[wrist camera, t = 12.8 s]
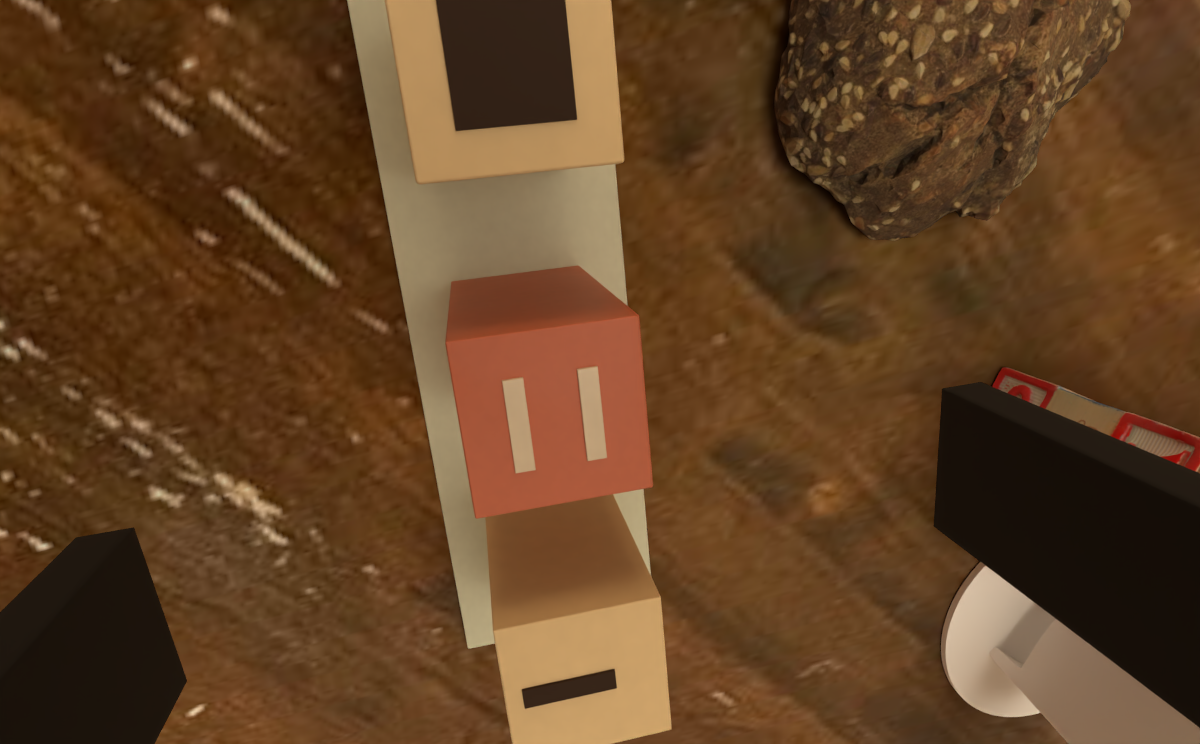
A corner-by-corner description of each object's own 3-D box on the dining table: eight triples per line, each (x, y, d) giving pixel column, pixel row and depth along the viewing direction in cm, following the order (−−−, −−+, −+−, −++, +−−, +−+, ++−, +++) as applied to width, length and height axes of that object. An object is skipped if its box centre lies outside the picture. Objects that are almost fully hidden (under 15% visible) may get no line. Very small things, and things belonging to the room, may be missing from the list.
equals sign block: (450, 281, 24) (444, 342, 16) (579, 265, 25) (640, 315, 16) (470, 403, 26) (475, 521, 17) (591, 385, 26) (654, 489, 18)
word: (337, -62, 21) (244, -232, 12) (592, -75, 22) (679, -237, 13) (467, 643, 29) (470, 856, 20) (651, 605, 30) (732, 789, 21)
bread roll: (888, -220, 23) (999, -321, 18) (1128, -9, 26) (1273, -47, 22) (700, 139, 25) (756, 132, 20) (947, 289, 28) (1042, 313, 24)
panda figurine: (1028, 750, 37) (1372, 1103, 23) (889, 671, 34) (1195, 1031, 20) (1177, 579, 36) (1643, 846, 22) (1048, 478, 32) (1503, 718, 18)
